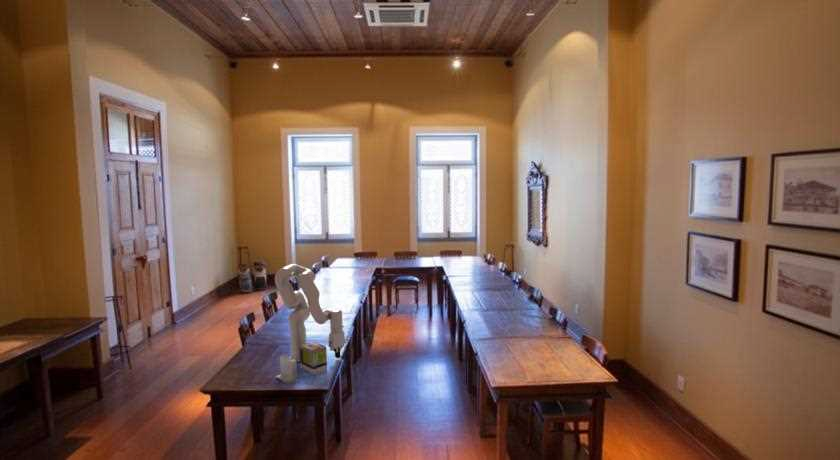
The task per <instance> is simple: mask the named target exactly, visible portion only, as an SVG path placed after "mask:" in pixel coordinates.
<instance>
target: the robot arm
mask: <svg viewBox="0 0 840 460" xmlns="http://www.w3.org/2000/svg"><path fill="white" fill-rule="evenodd" d="M293 278H296V280H297V283H298V286H300V289H301V290H302V292H303V293H302V292H301V291H299V290H294V287H293V285H292V283H290V282H289V281H290V280H291V279H293ZM315 280H316V274H315V272H314V271H313V270H311V269H309V268H307V267H304V266H301V265H298V264H296V263H290V264H287V265H284V266H283V267H281V268H280V269H278V271H277V272H276V273H275V276H274V283H275V286H276V288H277V290H278V293H279V296H280V297H281V300H282V302H283V305H284V307H285V308H286V309H287V310H292V311H291V312H290V313H289V315H288V318H287V319H288V320H287V322H288V326H289V332H290V333H289V334H290V350H289V353H290V354H291V355H290V356H289V357H290V358H292V359H294V360H296V363H300V362H299V361H300V345H302V344H305V343H307V332H306V331H307V330H306V326H305V321H307V320H308V319H309V318H310V315H311V317H312V318H313V320H314V321H315V322H316V324H318V325H324V324H325V323H326V322H327V321H329V325H330V332H329V334H328V341H327V342H328V348H329V351H332V352H334V357H335V359H340V358H341V351H342V349H343V348H344V347H345V346H346V336H345V332H344V329H343V328H344V324H343V312H342V309H341V308H340V309H339V308H336V309H335V308H334V309H332V308H328V307H325V308H322V307H321V305H320V291H319V289H318V287H317V286H316V284H315Z"/></svg>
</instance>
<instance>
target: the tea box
mask: <svg viewBox="0 0 840 460" xmlns="http://www.w3.org/2000/svg"><path fill="white" fill-rule="evenodd" d="M327 357H328V354H327V346H325V345H323V344H321V343H318V342H317V341H314V340H313V341H308V342H306V343H305V344H302V345H300V362H299V363H300V364H299V366H300V369H302V368H303V369H302V370H304V371H305V370H306V372H307V371H308V373H309V372H310V374H311V375H318V374H321V373H323V372H325V371H328V358H327ZM322 371H323V372H322ZM317 373H318V374H317Z"/></svg>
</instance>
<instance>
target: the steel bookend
mask: <svg viewBox="0 0 840 460" xmlns="http://www.w3.org/2000/svg"><path fill="white" fill-rule="evenodd" d="M279 365H280V374H279V375H276V377H275V378H278V379H280V380H281V381H280V380H279V381H280V382H282V381H283V382H282V383H284V382H285V384H286V383H287V384H286V385H290V384H292V382H293V383H295V382H297V381H298V372H297V371H298V368H297V362H296V360H294V359H292V358H290V356H288V355H285V354H284V355H281V356H279ZM278 379H277V380H278ZM296 380H297V381H296ZM294 381H295V382H294Z"/></svg>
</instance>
